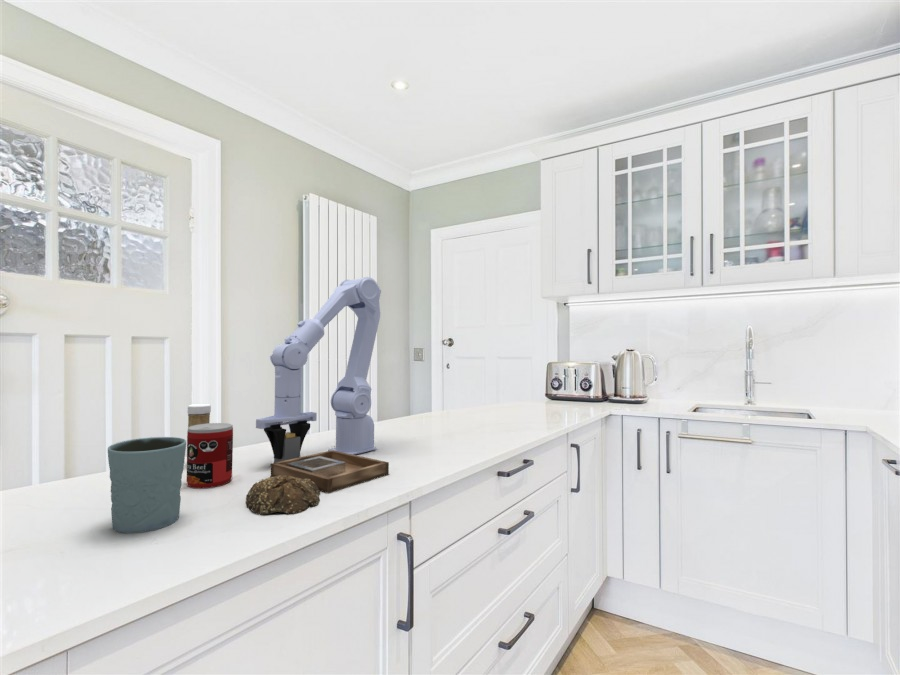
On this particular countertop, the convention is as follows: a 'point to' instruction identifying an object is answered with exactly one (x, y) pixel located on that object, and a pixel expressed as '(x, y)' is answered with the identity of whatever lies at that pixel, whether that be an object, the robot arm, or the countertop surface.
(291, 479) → the bread roll
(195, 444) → the canned food
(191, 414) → the sprinkles bottle
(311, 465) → the socket
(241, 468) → the countertop surface
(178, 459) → the green plant pot
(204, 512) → the countertop surface
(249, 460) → the countertop surface
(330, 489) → the tray
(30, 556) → the countertop surface
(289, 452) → the block
